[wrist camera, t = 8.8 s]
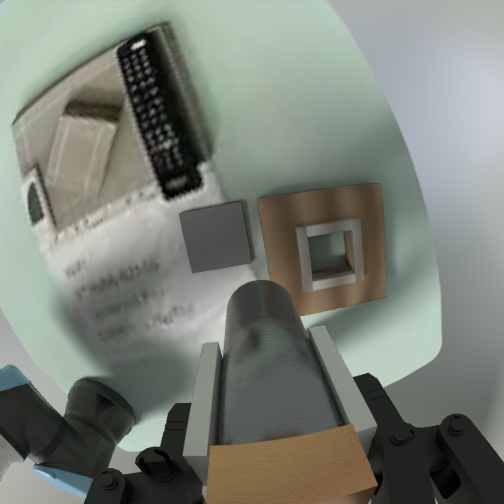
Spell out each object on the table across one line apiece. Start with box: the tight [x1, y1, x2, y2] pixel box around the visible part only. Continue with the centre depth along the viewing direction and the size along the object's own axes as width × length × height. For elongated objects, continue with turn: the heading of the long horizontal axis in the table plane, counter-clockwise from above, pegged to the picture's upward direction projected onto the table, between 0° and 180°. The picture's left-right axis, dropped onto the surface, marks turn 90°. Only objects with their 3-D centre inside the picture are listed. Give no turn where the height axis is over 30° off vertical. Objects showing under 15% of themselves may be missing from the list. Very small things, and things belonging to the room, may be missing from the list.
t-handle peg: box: [206, 280, 378, 504], centre depth 11 cm, size 8×4×15 cm, turn 8°
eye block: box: [257, 183, 386, 316], centre depth 35 cm, size 16×16×4 cm
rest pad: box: [179, 202, 252, 273], centre depth 35 cm, size 8×8×1 cm
